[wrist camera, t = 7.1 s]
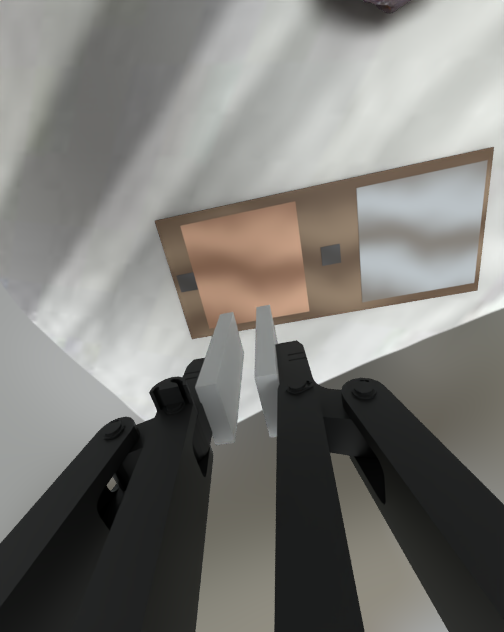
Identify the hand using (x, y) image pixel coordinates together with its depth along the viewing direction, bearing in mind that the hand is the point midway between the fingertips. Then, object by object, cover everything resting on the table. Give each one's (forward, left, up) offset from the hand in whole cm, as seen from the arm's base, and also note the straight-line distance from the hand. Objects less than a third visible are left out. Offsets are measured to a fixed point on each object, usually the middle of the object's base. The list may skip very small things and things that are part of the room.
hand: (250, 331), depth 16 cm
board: (0, +7, -16) cm, 18 cm away
